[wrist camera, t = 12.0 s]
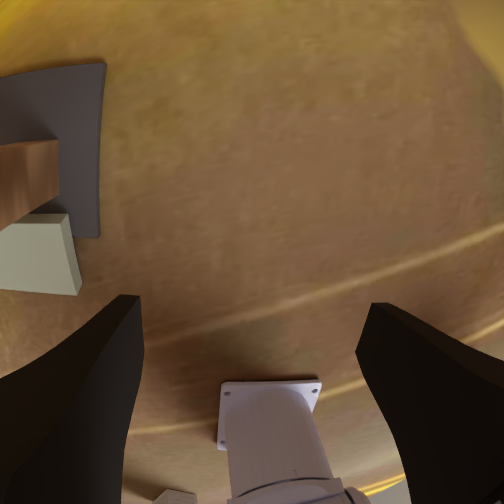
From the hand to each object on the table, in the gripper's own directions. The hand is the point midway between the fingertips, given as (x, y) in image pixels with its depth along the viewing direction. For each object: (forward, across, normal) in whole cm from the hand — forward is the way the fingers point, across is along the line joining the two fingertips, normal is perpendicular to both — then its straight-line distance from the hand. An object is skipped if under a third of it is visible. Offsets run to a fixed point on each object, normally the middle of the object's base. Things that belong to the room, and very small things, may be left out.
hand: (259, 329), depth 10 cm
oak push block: (+9, +12, -3) cm, 16 cm away
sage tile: (+9, +13, +5) cm, 17 cm away
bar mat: (+10, +12, -4) cm, 16 cm away
